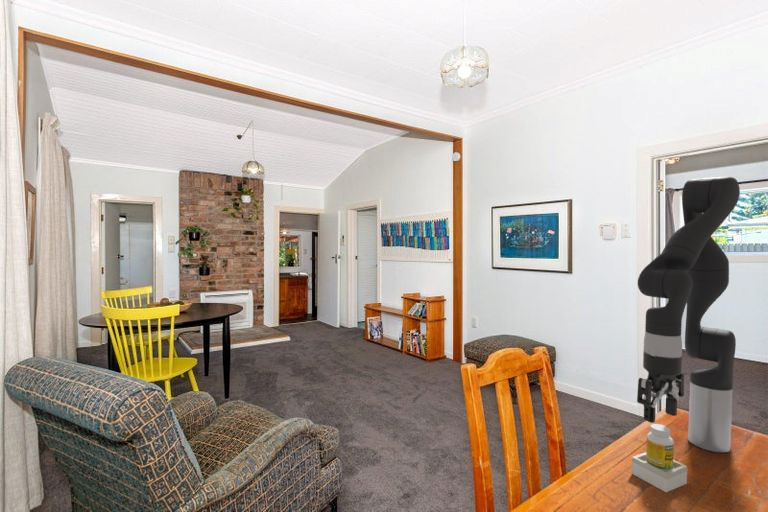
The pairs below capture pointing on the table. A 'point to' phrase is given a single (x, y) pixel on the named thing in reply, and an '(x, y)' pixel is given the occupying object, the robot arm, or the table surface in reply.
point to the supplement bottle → (660, 447)
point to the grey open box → (659, 473)
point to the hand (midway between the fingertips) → (660, 417)
